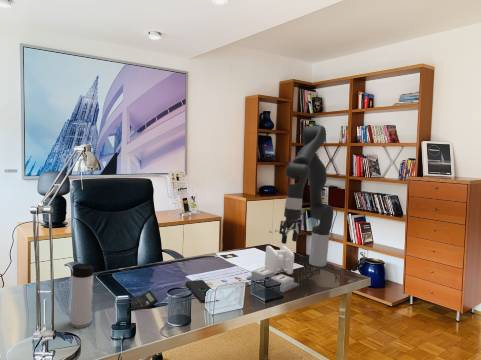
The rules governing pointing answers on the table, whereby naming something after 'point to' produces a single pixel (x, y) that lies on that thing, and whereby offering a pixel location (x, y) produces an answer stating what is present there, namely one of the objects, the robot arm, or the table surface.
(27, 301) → the table surface
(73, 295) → the travel mug
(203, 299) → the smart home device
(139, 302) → the calculator
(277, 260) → the cable organizer
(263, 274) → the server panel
